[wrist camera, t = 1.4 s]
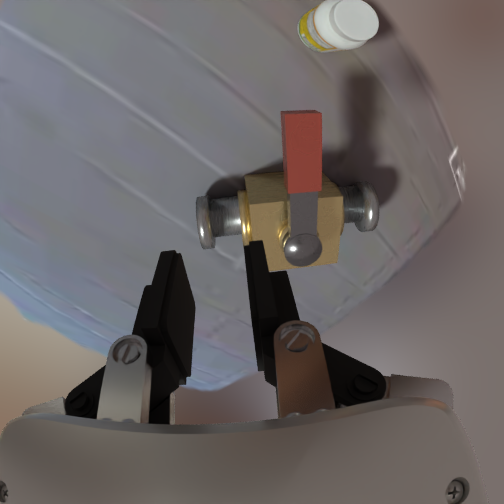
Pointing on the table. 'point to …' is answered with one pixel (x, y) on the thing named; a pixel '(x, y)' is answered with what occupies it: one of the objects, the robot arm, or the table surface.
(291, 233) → the lever
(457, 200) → the table surface
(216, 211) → the valve
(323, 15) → the supplement bottle
